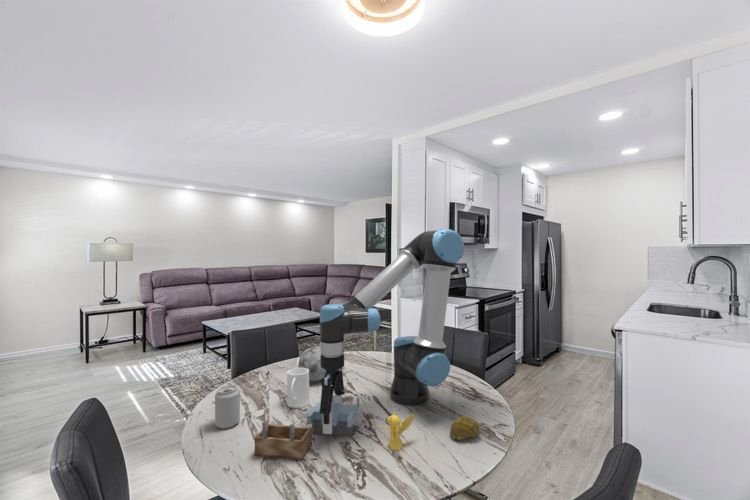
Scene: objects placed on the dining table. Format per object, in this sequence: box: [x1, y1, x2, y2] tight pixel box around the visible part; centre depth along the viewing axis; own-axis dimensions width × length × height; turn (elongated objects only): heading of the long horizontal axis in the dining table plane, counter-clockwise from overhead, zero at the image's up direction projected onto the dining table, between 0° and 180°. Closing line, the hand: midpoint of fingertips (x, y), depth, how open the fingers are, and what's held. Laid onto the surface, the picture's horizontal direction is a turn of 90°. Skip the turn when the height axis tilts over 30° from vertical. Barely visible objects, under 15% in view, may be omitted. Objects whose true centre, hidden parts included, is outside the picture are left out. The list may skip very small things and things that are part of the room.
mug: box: [286, 367, 311, 409], centre depth 126 cm, size 12×8×12 cm
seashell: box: [449, 415, 481, 442], centre depth 103 cm, size 10×7×8 cm
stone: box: [297, 345, 326, 383], centre depth 150 cm, size 15×16×15 cm
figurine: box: [374, 412, 415, 451], centre depth 100 cm, size 12×12×9 cm
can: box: [214, 384, 241, 430], centre depth 112 cm, size 8×8×12 cm
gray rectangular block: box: [312, 419, 354, 437], centre depth 107 cm, size 12×4×4 cm, turn 80°
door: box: [306, 402, 359, 427], centre depth 107 cm, size 14×9×2 cm, turn 80°
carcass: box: [254, 421, 313, 461], centre depth 97 cm, size 14×8×9 cm, turn 80°
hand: (333, 423), depth 107 cm, fingers open, 11 cm apart
